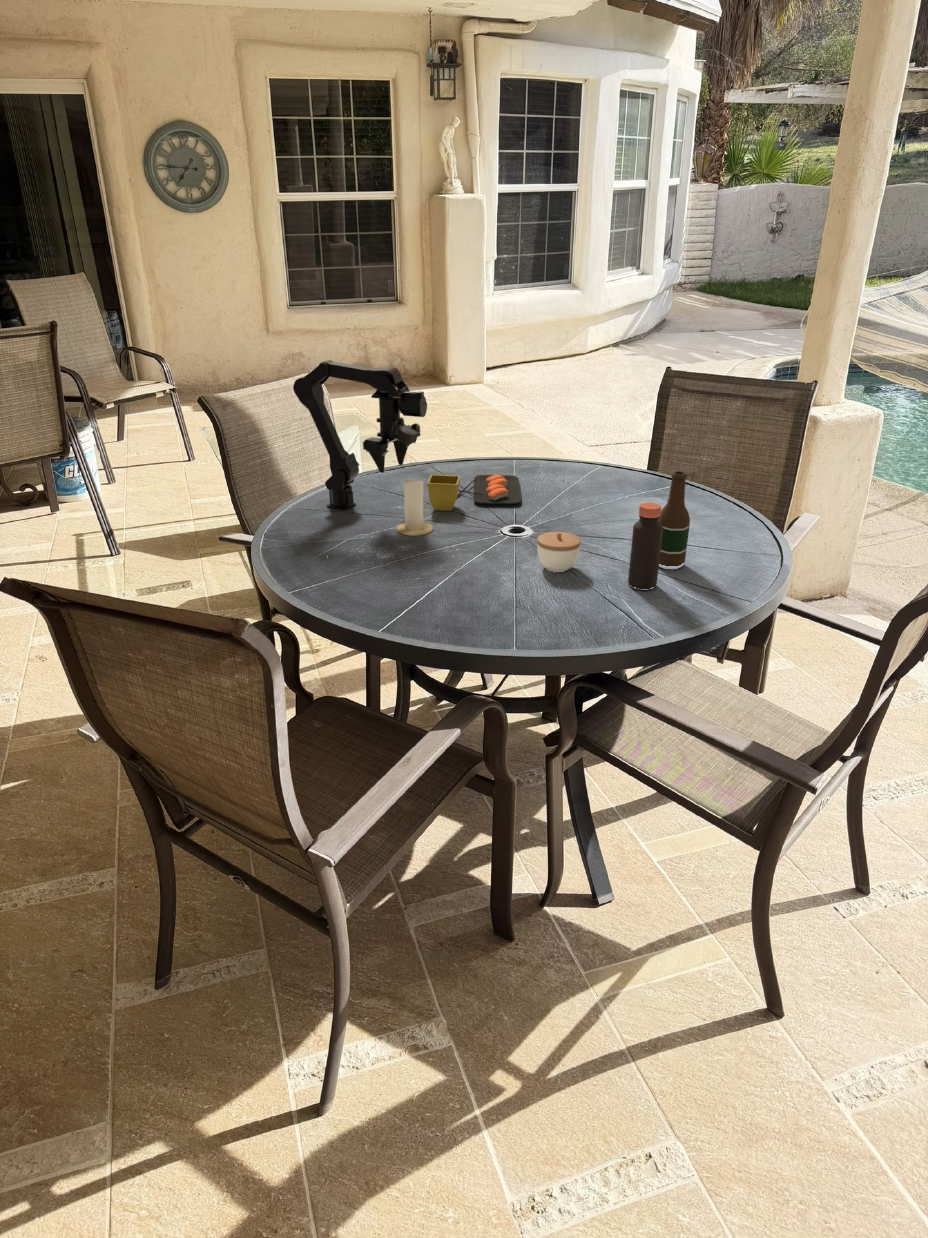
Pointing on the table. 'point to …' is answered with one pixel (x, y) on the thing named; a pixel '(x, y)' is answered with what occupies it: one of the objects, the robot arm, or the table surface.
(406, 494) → the cream glossy rounded body
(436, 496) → the flower pot
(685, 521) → the beer bottle
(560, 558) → the lidded jar
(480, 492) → the sushi plate
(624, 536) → the table surface
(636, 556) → the vinegar
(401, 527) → the cork coaster
